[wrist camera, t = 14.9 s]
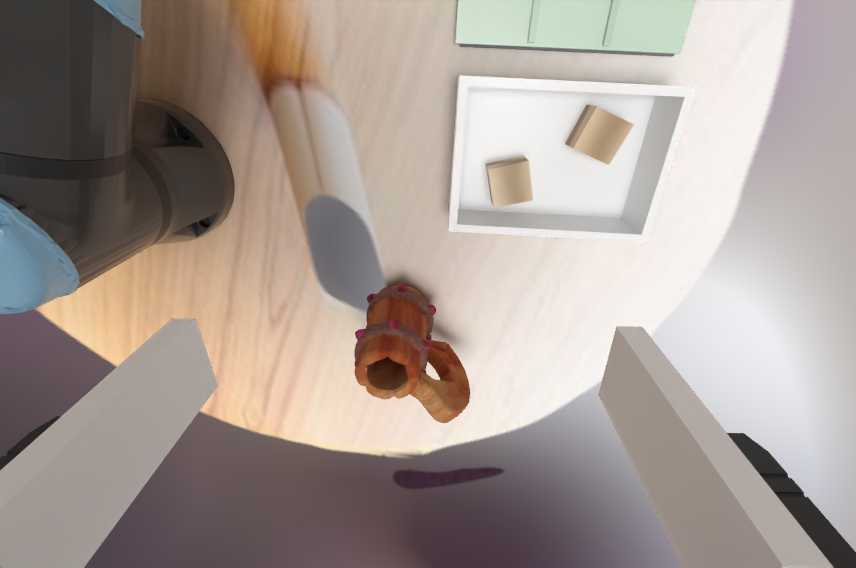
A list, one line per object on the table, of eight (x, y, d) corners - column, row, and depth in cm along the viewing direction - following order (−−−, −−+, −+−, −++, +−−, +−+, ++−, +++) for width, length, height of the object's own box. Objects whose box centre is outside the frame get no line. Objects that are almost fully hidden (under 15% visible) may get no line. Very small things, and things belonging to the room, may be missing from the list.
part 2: (564, 143, 40) (573, 148, 38) (586, 104, 39) (596, 106, 36) (598, 159, 41) (609, 165, 38) (621, 121, 39) (634, 124, 36)
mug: (355, 305, 51) (323, 384, 38) (391, 261, 48) (369, 330, 35) (442, 362, 55) (440, 452, 42) (481, 324, 52) (492, 409, 39)
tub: (448, 213, 45) (448, 231, 40) (457, 76, 39) (459, 75, 33) (623, 223, 45) (647, 242, 39) (662, 85, 38) (697, 86, 33)
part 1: (491, 200, 43) (493, 208, 41) (485, 163, 42) (488, 169, 39) (527, 192, 43) (532, 200, 40) (523, 155, 41) (528, 160, 38)
